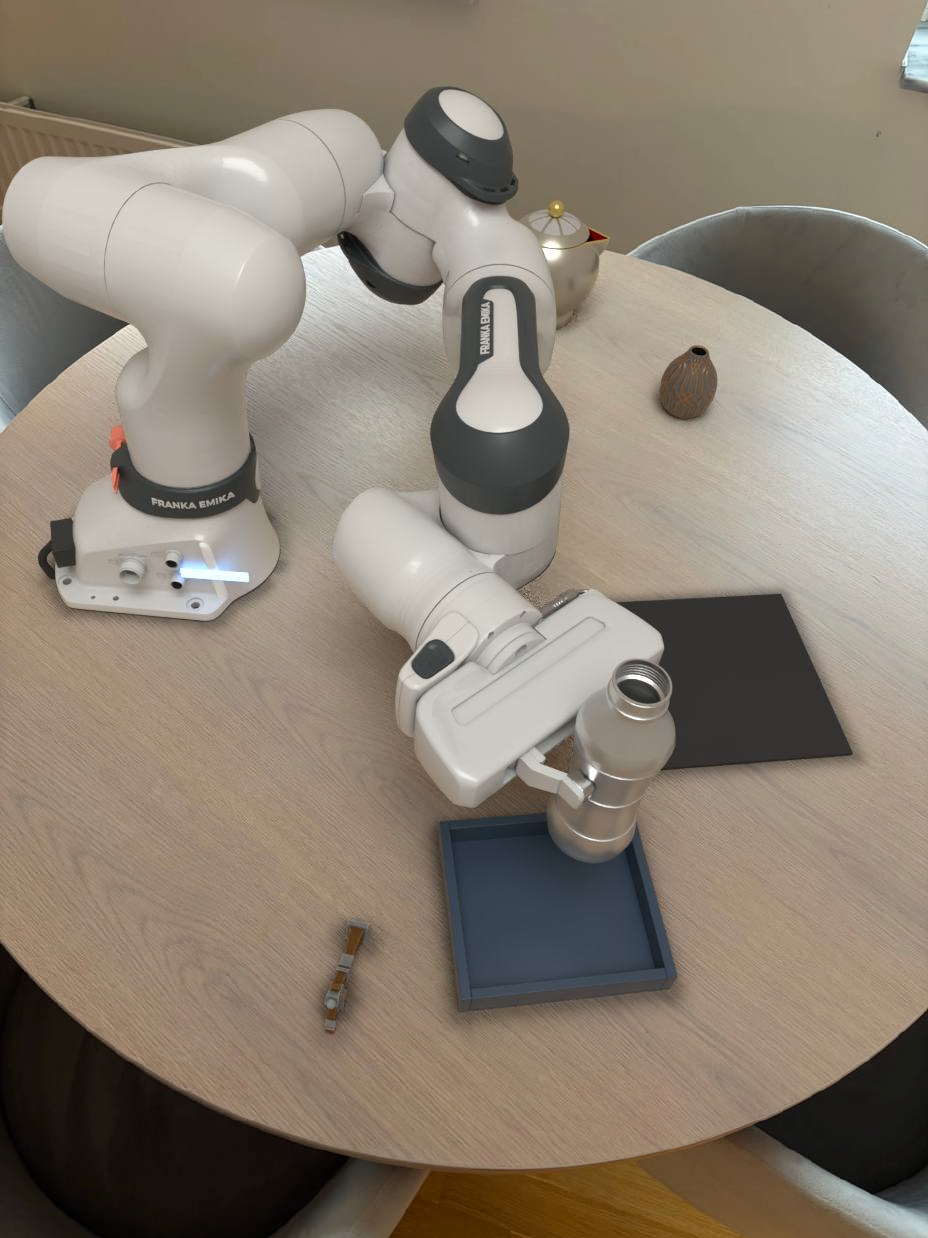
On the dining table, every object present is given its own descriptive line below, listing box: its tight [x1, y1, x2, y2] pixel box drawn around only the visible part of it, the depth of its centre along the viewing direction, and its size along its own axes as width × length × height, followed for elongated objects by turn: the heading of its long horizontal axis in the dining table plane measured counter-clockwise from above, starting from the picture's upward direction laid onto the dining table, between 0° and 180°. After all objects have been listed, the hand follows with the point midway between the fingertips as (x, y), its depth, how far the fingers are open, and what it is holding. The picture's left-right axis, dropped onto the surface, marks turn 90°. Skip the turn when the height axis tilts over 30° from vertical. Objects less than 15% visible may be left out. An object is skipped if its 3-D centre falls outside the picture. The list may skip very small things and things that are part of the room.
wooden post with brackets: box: [324, 918, 371, 1035], centre depth 71 cm, size 2×8×4 cm, turn 169°
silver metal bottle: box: [546, 658, 676, 863], centre depth 65 cm, size 6×7×20 cm
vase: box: [659, 344, 718, 420], centre depth 118 cm, size 7×7×9 cm
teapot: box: [516, 199, 611, 330], centre depth 127 cm, size 18×14×16 cm
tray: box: [437, 812, 678, 1013], centre depth 76 cm, size 17×15×3 cm
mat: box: [616, 593, 854, 771], centre depth 94 cm, size 20×20×1 cm
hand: (622, 769), depth 64 cm, fingers closed on silver metal bottle, 6 cm apart
